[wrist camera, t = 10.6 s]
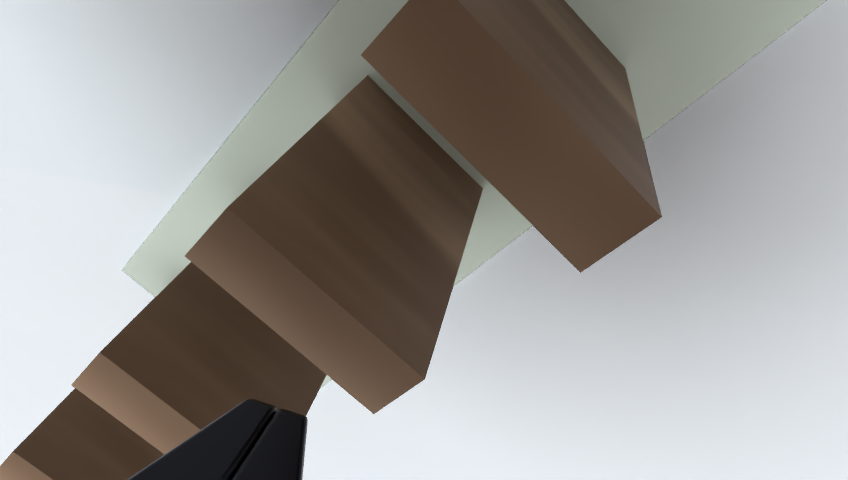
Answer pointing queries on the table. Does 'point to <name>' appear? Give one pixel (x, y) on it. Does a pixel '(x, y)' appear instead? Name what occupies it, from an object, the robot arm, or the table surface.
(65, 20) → the table surface
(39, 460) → the domino
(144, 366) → the domino
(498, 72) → the domino
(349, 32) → the mat
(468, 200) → the domino
